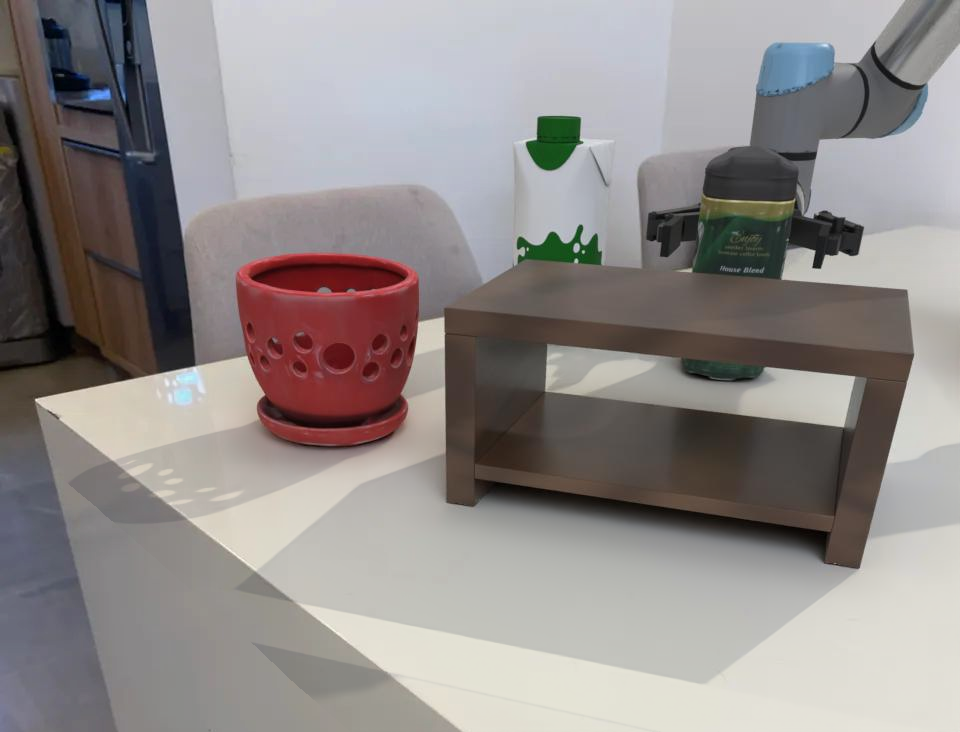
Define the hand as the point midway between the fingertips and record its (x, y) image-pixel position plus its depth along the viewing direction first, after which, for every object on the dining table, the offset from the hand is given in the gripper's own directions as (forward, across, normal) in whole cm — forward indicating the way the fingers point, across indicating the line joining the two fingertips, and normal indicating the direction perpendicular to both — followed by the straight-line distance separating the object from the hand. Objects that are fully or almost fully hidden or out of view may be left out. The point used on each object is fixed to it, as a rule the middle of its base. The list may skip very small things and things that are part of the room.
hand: (740, 246), depth 85 cm
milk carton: (-4, +18, -11) cm, 21 cm away
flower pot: (+30, +26, -11) cm, 41 cm away
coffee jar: (+2, 0, -11) cm, 11 cm away
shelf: (+32, 0, -10) cm, 33 cm away
